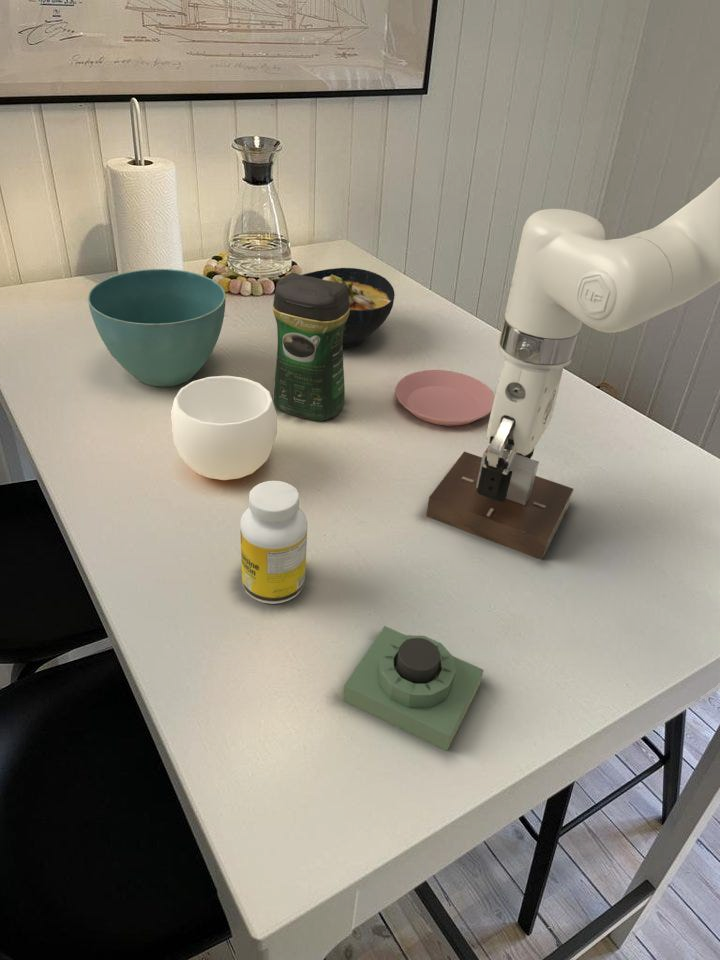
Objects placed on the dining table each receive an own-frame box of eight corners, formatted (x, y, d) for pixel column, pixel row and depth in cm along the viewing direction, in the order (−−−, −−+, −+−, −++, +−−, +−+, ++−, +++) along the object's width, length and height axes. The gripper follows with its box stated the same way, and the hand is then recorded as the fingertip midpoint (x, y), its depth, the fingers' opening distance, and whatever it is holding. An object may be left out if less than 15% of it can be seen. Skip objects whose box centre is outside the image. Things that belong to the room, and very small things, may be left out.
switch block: (480, 685, 69) (487, 656, 66) (446, 752, 63) (453, 723, 61) (382, 641, 72) (386, 612, 70) (342, 701, 66) (344, 671, 64)
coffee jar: (350, 401, 107) (360, 276, 96) (329, 428, 101) (336, 298, 90) (289, 385, 110) (291, 261, 99) (264, 410, 104) (264, 282, 93)
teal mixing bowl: (245, 392, 107) (244, 312, 100) (115, 415, 100) (103, 331, 93) (206, 337, 120) (202, 263, 113) (88, 355, 113) (75, 276, 105)
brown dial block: (567, 508, 91) (574, 487, 89) (541, 560, 83) (547, 539, 81) (460, 470, 96) (464, 450, 94) (425, 517, 88) (429, 495, 86)
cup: (192, 507, 86) (187, 437, 80) (163, 450, 95) (156, 382, 89) (292, 483, 91) (293, 415, 85) (255, 431, 100) (255, 366, 94)
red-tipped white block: (530, 496, 87) (539, 459, 84) (524, 505, 86) (534, 468, 83) (481, 479, 89) (489, 442, 86) (475, 488, 88) (483, 451, 85)
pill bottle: (246, 560, 80) (243, 472, 73) (307, 563, 80) (310, 476, 73) (237, 605, 74) (234, 515, 68) (303, 608, 75) (306, 519, 68)
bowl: (408, 336, 126) (415, 278, 120) (351, 374, 114) (355, 312, 108) (326, 307, 133) (328, 251, 127) (263, 340, 121) (263, 280, 115)
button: (444, 661, 66) (446, 648, 65) (427, 690, 63) (430, 677, 62) (407, 644, 67) (409, 631, 66) (389, 672, 65) (391, 659, 64)
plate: (472, 444, 101) (475, 432, 99) (377, 413, 105) (378, 401, 104) (506, 399, 111) (508, 387, 110) (417, 372, 116) (419, 360, 115)
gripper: (549, 385, 68) (512, 528, 79) (595, 319, 81) (557, 449, 91) (473, 362, 71) (446, 503, 81) (528, 301, 83) (499, 429, 94)
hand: (505, 474), depth 86 cm, fingers open, 9 cm apart
